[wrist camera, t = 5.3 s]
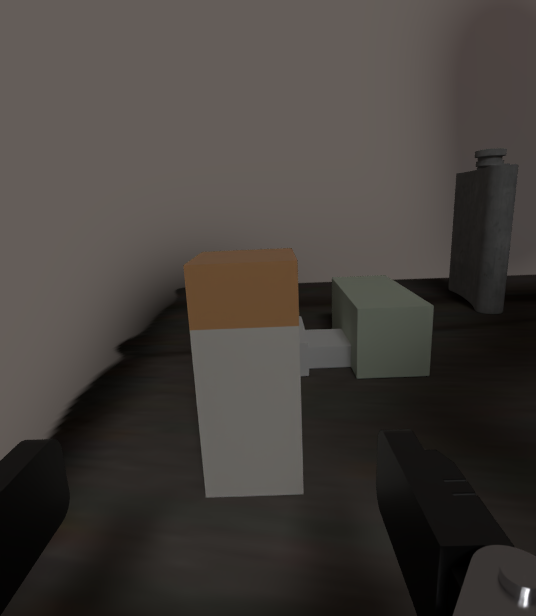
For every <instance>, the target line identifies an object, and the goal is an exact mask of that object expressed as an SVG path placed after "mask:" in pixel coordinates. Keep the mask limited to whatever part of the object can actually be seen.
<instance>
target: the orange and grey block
mask: <svg viewBox="0 0 536 616" xmlns="http://www.w3.org/2000/svg"><path fill="white" fill-rule="evenodd" d="M184 275H185V285H186V296H187V306H188V317H189V327H190V337H191V348H192V358H193V368H194V379H195V389H196V399H197V410H198V420H199V430H200V441H201V451H202V461H203V472H204V482H205V492H206V497H235V496H266V495H296V494H303V459H302V420H301V381H300V342H299V304H298V265H297V259H296V256H295V254H294V252H293V250H292V248H283V249H260V250H237V251H213V252H201V253H200V254H199V255H197V256H196V257H195V258H193V259H192V260H190V261H189V262H187V263H186V264H185V265H184Z"/></svg>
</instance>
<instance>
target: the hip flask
mask: <svg viewBox="0 0 536 616" xmlns="http://www.w3.org/2000/svg"><path fill="white" fill-rule="evenodd" d="M506 151H507V149H486V150H480V151H476V152H475V158H478V162H476V167H478V168H477V170H475V171H470V172H464V173H457V175H456V189H455V204H454V219H453V232H452V246H451V261H450V275H449V290H450V291H453V292H455V293H457V294H459V295H460V296H462V297H464V298H465V299H466V300H467V301H469V302H470V303H471V304H472V306H473V307H474V310H475V311H477V312H479V313H484V314H500V313H502V312H503V306H504V297H505V287H506V278H507V269H508V258H509V250H510V240H511V231H512V221H513V212H514V202H515V193H516V184H517V174H518V165H517V164H514V165H510V164H504V160H502V156H505V155H506Z"/></svg>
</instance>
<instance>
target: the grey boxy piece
mask: <svg viewBox="0 0 536 616" xmlns="http://www.w3.org/2000/svg"><path fill="white" fill-rule="evenodd" d="M433 308H434V306H433V305H431V304H430V303H428V302H427V301H425V300H424V299H422V298H420V297H419V296H417V295H416V294H414V293H412V292H411V291H409V290H408V289H406V288H405V287H403V286H401V285H400V284H398V283H397V282H395V281H393V280H392V279H390V278H389V277H387V276H385V275H383V276H382V275H381V276H360V277H359V276H358V277H335V278H332V329H320V330H305V329H304V325H303V321H302V318H301V316H299V342H300V376H309V368H335V367H351V368H352V370H353V372H354V374H355V376H356V378H357V379H361V378H387V377H413V376H429V374H430V358H431V341H432V325H433Z"/></svg>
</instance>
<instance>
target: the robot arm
mask: <svg viewBox="0 0 536 616" xmlns="http://www.w3.org/2000/svg"><path fill="white" fill-rule="evenodd" d="M376 490H377V499H378V505H379V509H380V513H381V516H382V518H383V521H384V524H385V527H386V529H387V532H388V535H389V538H390V541H391V543H392V546H393V549H394V552H395V554H396V557H397V560H398V563H399V566H400V568H401V571H402V574H403V577H404V579H405V582H406V585H407V588H408V591H409V593H410V596H411V599H412V602H413V604H414V607H415V610H416V613H417V616H536V556H534V555H533V554H530V553H528V552H526V551H524V550H521V549H518V548H515V547H514V545H513V544H512V543H511V541H510V540H509V538H508V537H507V536H506V534H505V533H504V531H503V530H502V529H501V527H500V526H499V524H498V523H497V522H496V520H495V519H494V517H493V516H492V515H491V513H490V512H489V510H488V509H487V508H486V506H485V505H484V504H483V502H482V501H481V499H480V498H479V497H478V496H476V494H475V491H474V490H473V488H472V487H471V485H470V484H469V483H468V482H466V478H465V477H464V476H463V474H462V473H461V472H460V470H459V469H458V467H457V466H456V465H455V463H454V462H452V461H451V460H450V459H448V458H447V457H445V456H444V455H443V454H441V453H440V452H438V451H437V450H424V448H423V447H422V445H421V444H420V442H419V440H418V439H417V437H416V436H415V434H414V433H413V431H412V430H410V429H401V430H380V431H379V433H378V445H377V477H376ZM69 499H70V493H69V487H68V481H67V476H66V470H65V465H64V459H63V454H62V449H61V445H60V443H59V442H58V441H57V440H56V439H44V440H24V441H21V442H20V443H19V444H18V445H17V446H16V447H15V448H13V449H12V450H11V451H10V452H9V453H8V454H7V455H6V456H5V457H4V458H3V459H2V460H1V461H0V615H1V614H2V612H3V611H4V609H5V608H6V606H7V605H8V603H9V602H10V600H11V599H12V597H13V596H14V594H15V593H16V591H17V590H18V588H19V587H20V585H21V584H22V582H23V581H24V579H25V578H26V576H27V575H28V573H29V572H30V570H31V569H32V567H33V566H34V564H35V562H36V561H37V559H38V558H39V556H40V555H41V553H42V552H43V550H44V549H45V547H46V546H47V544H48V543H49V541H50V540H51V538H52V537H53V535H54V534H55V532H56V531H57V529H58V528H59V526H60V525H61V523H62V522H63V520H64V518H65V516H66V513H67V510H68V506H69Z"/></svg>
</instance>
